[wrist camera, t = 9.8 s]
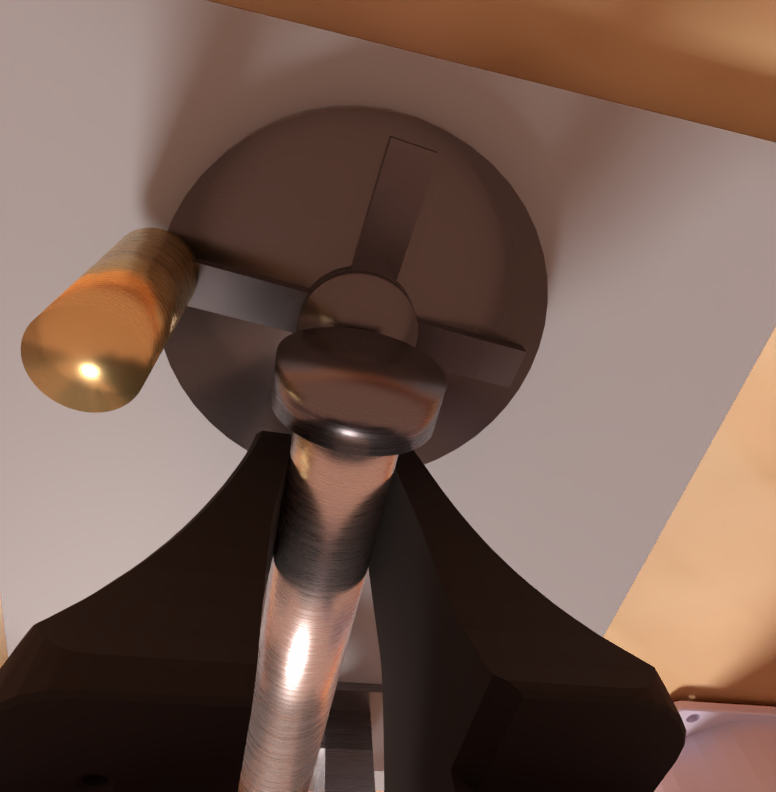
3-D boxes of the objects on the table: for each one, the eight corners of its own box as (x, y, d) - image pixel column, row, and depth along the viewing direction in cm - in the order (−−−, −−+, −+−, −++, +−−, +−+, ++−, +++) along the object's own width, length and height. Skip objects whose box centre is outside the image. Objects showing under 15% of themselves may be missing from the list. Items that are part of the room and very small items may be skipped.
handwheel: (459, 485, 16) (504, 640, 12) (105, 411, 14) (11, 564, 10) (600, 180, 12) (737, 247, 8) (151, 24, 10) (34, 7, 6)
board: (825, 156, 14) (865, 165, 13) (507, 763, 25) (515, 795, 24) (-42, -60, 11) (-81, -72, 10) (37, 745, 22) (23, 779, 21)
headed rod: (433, 341, 12) (461, 420, 10) (321, 752, 19) (320, 866, 16) (282, 316, 12) (269, 393, 9) (221, 748, 18) (203, 864, 16)
